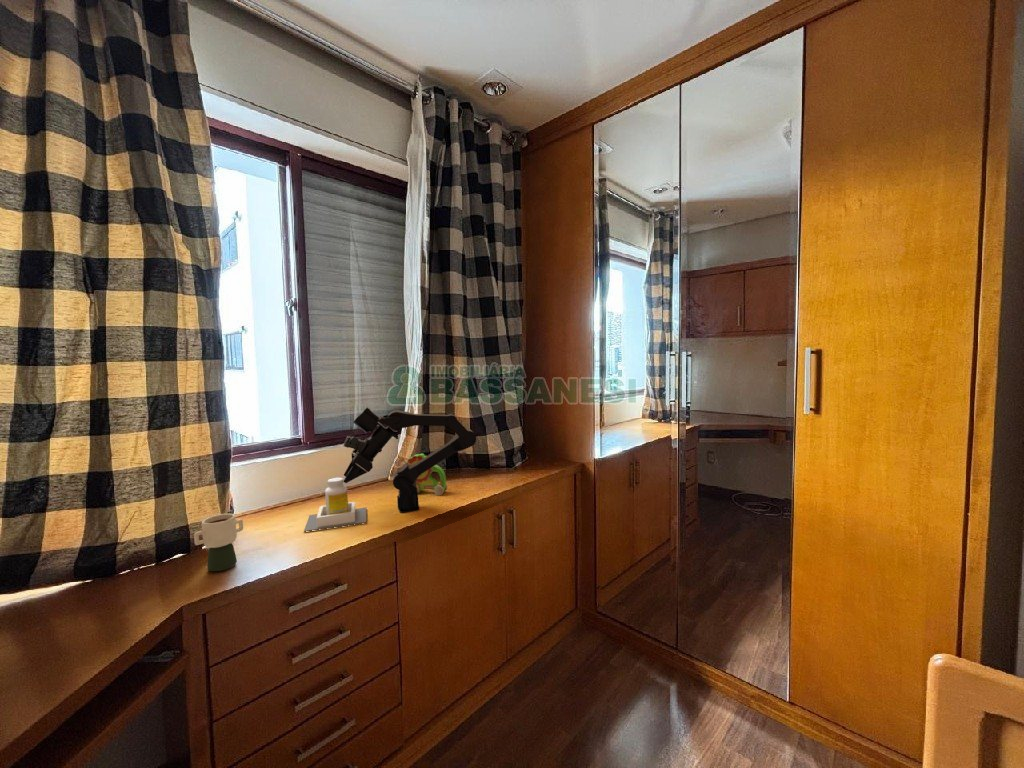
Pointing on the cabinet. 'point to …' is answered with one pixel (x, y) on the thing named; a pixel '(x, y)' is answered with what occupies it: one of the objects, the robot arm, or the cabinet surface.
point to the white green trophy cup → (219, 540)
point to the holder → (336, 518)
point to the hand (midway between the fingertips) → (344, 479)
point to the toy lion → (429, 477)
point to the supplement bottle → (336, 497)
